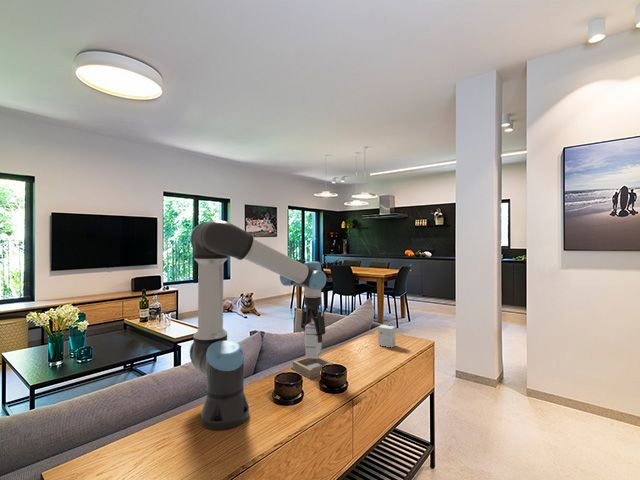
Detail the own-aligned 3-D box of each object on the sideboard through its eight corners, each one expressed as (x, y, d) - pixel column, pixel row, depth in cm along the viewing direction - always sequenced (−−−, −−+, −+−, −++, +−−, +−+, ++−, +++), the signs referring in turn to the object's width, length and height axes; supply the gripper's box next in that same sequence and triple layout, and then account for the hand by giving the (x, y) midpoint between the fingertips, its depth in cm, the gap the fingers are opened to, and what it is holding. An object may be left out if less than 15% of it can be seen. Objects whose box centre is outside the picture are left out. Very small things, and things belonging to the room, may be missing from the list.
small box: (395, 345, 178) (395, 326, 178) (392, 348, 173) (392, 328, 173) (381, 343, 182) (381, 324, 182) (378, 346, 177) (378, 326, 177)
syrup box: (318, 359, 142) (318, 326, 142) (304, 358, 143) (305, 325, 143) (320, 354, 148) (320, 322, 148) (308, 353, 149) (308, 321, 149)
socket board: (309, 378, 136) (309, 371, 136) (290, 368, 147) (290, 361, 147) (334, 370, 144) (334, 363, 144) (315, 360, 155) (315, 354, 155)
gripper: (334, 298, 140) (334, 351, 140) (305, 292, 156) (306, 339, 156) (320, 300, 135) (320, 355, 135) (292, 293, 151) (293, 342, 151)
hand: (312, 346), depth 145 cm, fingers closed on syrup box, 8 cm apart
